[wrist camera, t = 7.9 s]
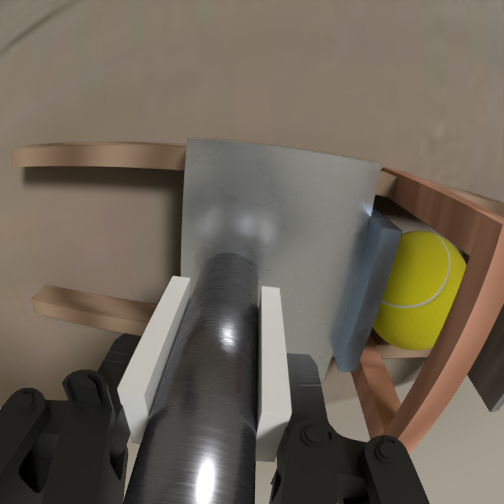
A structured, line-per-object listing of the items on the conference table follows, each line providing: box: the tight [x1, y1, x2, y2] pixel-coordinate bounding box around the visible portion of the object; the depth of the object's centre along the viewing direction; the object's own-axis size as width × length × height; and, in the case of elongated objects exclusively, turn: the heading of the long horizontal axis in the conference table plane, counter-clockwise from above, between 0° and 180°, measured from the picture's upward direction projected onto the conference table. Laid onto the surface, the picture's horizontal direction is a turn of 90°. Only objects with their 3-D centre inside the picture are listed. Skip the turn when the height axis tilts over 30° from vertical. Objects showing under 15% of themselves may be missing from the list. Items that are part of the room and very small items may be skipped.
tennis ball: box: [372, 231, 467, 351], centre depth 17 cm, size 7×7×7 cm
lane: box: [12, 142, 504, 454], centre depth 15 cm, size 34×13×11 cm, turn 84°
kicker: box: [123, 137, 402, 504], centre depth 12 cm, size 10×14×17 cm
